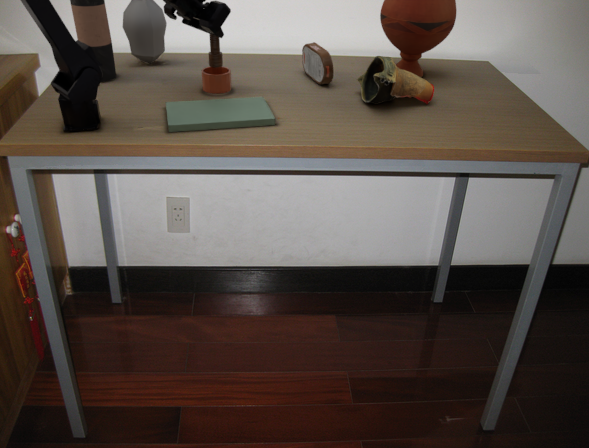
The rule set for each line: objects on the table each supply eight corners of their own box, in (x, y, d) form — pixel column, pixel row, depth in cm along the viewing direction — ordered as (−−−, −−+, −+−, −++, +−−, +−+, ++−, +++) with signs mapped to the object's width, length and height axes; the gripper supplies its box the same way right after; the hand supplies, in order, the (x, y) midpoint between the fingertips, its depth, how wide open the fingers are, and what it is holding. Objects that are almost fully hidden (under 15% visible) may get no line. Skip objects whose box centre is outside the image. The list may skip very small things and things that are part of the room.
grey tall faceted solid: (172, 69, 133) (159, -59, 116) (128, 71, 131) (108, -60, 114) (169, 57, 142) (157, -64, 125) (128, 58, 140) (110, -64, 123)
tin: (333, 88, 126) (336, 54, 121) (321, 89, 124) (324, 55, 120) (310, 70, 137) (311, 38, 132) (299, 71, 136) (300, 39, 131)
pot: (456, 72, 110) (385, 46, 104) (439, 122, 112) (369, 99, 106) (417, 73, 126) (355, 51, 120) (403, 117, 128) (341, 97, 122)
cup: (204, 96, 117) (202, 75, 114) (201, 86, 123) (200, 66, 120) (233, 95, 119) (232, 74, 116) (229, 85, 124) (228, 65, 121)
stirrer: (210, 68, 116) (206, 8, 108) (208, 64, 118) (204, 5, 111) (223, 67, 116) (221, 8, 109) (221, 63, 119) (219, 5, 112)
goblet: (450, 86, 130) (473, -19, 116) (377, 83, 130) (391, -22, 115) (435, 64, 145) (453, -31, 131) (369, 61, 145) (381, -34, 131)
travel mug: (108, 83, 122) (92, -4, 111) (79, 80, 123) (61, -7, 112) (123, 74, 128) (109, -10, 117) (95, 71, 129) (79, -13, 118)
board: (168, 132, 100) (168, 125, 99) (166, 108, 110) (165, 101, 110) (275, 125, 105) (275, 118, 104) (263, 102, 115) (263, 96, 115)
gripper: (220, -41, 96) (264, 13, 109) (170, -51, 107) (214, -1, 120) (189, 7, 96) (236, 55, 109) (141, -8, 107) (189, 37, 120)
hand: (219, 35), depth 114 cm, fingers closed on stirrer, 2 cm apart
